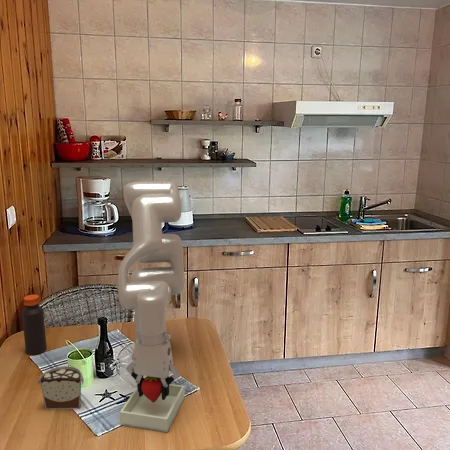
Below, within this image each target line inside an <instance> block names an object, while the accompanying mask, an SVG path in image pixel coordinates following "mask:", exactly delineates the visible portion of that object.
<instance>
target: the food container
mask: <svg viewBox="0 0 450 450" xmlns="http://www.w3.org/2000/svg"><path fill="white" fill-rule="evenodd" d="M84 382H85V381H84V376H83V373H82V372H81V370H80V369H79V368H77V367H74V366H65V365H64V366H58V367H54V368H51V369H49V370H47V371H44V372H43V373H42V374H40V376H39V378H38V381H37V385H39V384H40V389H41V393H42V398H43V402H44V407H45V410H80V408H81V399H82V398H81V397H82V385H83V384H84Z"/></svg>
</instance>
